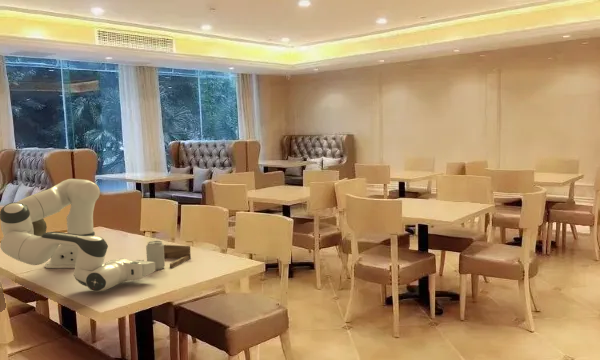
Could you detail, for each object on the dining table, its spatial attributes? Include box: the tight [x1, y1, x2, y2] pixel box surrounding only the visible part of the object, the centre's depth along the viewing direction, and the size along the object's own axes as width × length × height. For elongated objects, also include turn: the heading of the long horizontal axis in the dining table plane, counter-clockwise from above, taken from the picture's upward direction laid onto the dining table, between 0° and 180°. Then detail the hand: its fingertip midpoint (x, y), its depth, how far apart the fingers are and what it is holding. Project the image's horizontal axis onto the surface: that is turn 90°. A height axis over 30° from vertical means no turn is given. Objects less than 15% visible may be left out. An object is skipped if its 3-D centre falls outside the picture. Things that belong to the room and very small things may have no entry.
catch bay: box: [164, 244, 192, 269], centre depth 234 cm, size 17×13×6 cm
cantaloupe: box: [32, 218, 48, 236], centre depth 288 cm, size 14×14×15 cm
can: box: [145, 240, 166, 271], centre depth 223 cm, size 8×8×12 cm
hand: (140, 261), depth 212 cm, fingers closed
